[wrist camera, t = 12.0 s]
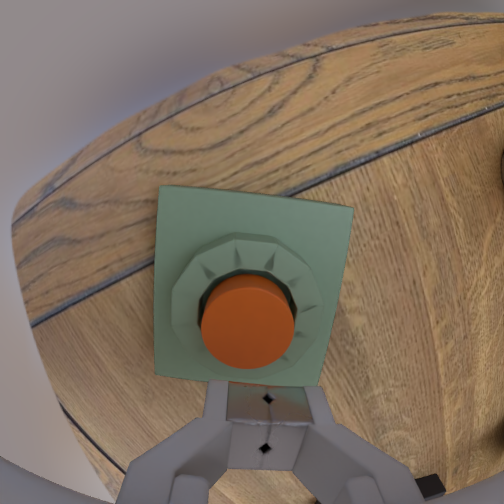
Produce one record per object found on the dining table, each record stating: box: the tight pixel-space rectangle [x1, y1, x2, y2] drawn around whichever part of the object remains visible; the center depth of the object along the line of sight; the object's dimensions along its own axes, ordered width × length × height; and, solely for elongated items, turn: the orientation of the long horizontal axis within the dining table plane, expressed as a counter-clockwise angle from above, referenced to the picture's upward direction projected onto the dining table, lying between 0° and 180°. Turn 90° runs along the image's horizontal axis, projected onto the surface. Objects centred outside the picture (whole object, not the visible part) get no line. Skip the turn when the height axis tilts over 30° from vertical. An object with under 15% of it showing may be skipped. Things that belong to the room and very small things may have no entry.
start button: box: [201, 274, 294, 369], centre depth 13 cm, size 4×4×2 cm
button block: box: [154, 185, 354, 387], centre depth 15 cm, size 9×10×4 cm
